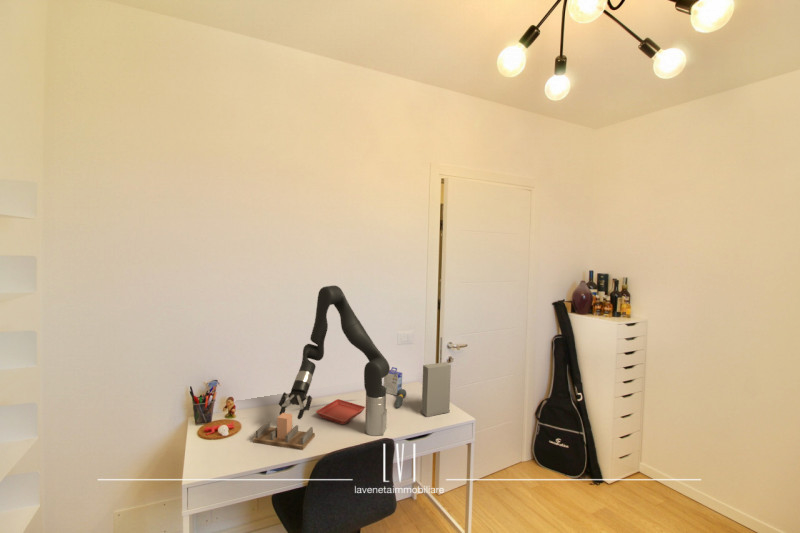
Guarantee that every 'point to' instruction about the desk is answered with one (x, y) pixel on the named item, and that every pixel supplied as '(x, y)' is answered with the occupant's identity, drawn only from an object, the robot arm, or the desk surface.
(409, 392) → the desk surface
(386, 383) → the ink cartridge box
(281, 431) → the terracotta block
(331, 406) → the plant saucer
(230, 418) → the desk surface
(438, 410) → the tall grey upright block
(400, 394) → the flashlight
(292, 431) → the walnut rack
